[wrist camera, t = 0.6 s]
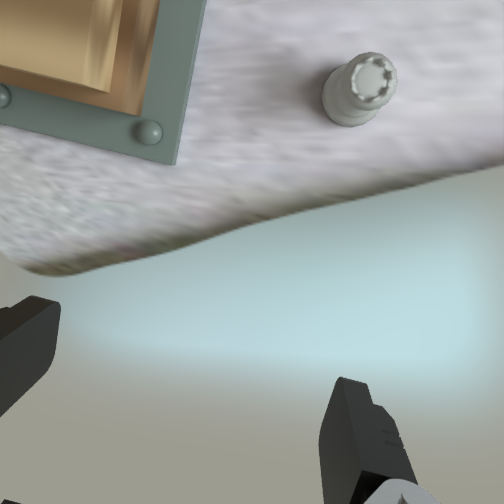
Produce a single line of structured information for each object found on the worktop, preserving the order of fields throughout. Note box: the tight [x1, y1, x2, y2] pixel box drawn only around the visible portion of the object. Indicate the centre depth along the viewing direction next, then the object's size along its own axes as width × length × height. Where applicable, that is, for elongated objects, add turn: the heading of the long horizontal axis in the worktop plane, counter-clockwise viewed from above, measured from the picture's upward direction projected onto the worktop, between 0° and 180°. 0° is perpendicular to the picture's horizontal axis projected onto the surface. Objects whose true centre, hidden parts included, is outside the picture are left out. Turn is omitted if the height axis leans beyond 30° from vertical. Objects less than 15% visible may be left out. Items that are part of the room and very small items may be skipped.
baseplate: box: [0, 0, 206, 165], centre depth 32 cm, size 16×16×2 cm
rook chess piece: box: [322, 52, 398, 127], centre depth 29 cm, size 4×4×8 cm
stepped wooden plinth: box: [0, 0, 160, 116], centre depth 28 cm, size 10×10×8 cm
